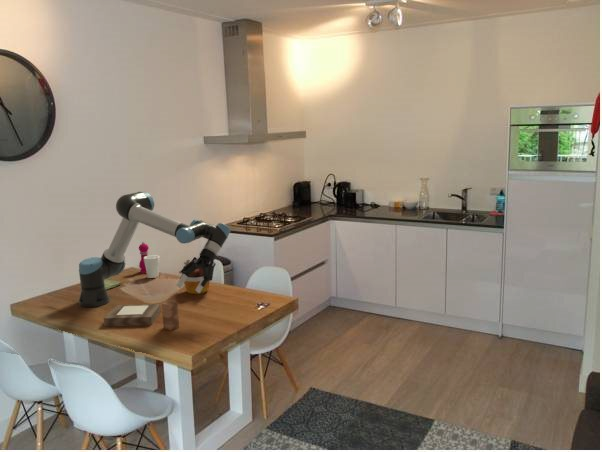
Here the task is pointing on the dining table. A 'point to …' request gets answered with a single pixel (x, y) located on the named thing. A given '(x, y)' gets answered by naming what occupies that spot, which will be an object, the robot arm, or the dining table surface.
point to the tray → (132, 315)
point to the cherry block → (170, 315)
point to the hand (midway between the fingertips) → (187, 289)
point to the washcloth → (111, 283)
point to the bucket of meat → (194, 280)
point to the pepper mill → (143, 252)
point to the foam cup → (152, 265)
